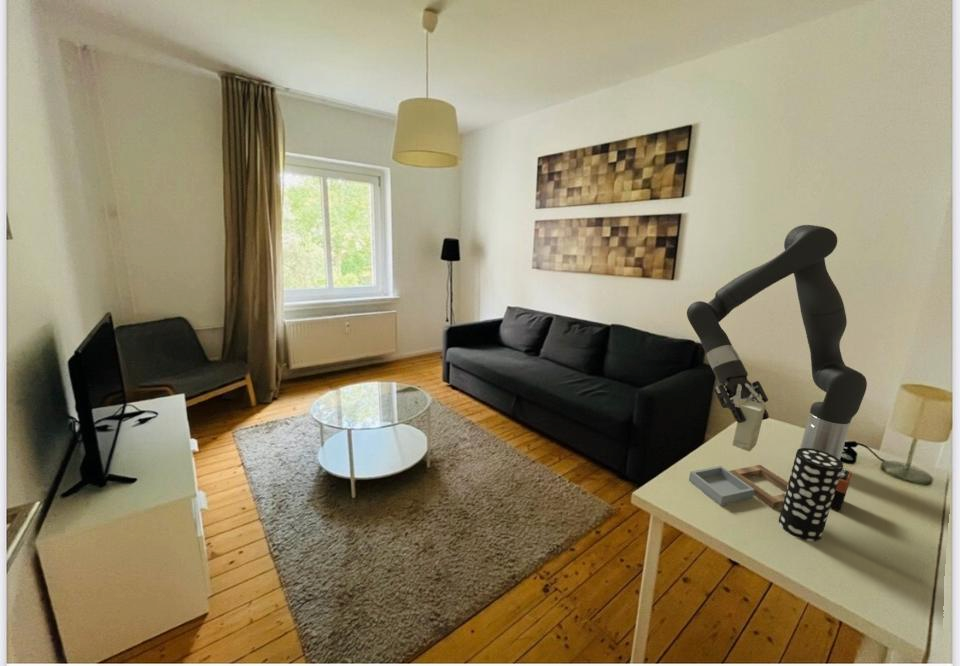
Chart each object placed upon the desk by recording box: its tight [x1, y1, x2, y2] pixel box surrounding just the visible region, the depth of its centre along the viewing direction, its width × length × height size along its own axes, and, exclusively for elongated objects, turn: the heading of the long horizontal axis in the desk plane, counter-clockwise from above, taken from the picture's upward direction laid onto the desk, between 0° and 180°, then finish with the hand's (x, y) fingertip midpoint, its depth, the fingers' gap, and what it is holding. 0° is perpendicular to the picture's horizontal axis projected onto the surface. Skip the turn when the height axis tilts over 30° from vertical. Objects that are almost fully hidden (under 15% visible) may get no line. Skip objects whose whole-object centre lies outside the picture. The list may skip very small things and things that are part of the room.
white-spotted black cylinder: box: [778, 447, 844, 542], centre depth 93 cm, size 8×8×20 cm
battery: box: [830, 467, 853, 512], centre depth 103 cm, size 4×7×10 cm, turn 132°
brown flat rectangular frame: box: [728, 464, 789, 510], centre depth 110 cm, size 12×14×2 cm
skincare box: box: [732, 400, 767, 452], centre depth 105 cm, size 6×4×12 cm
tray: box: [688, 465, 755, 507], centre depth 109 cm, size 11×11×3 cm
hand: (753, 420), depth 103 cm, fingers closed on skincare box, 7 cm apart
